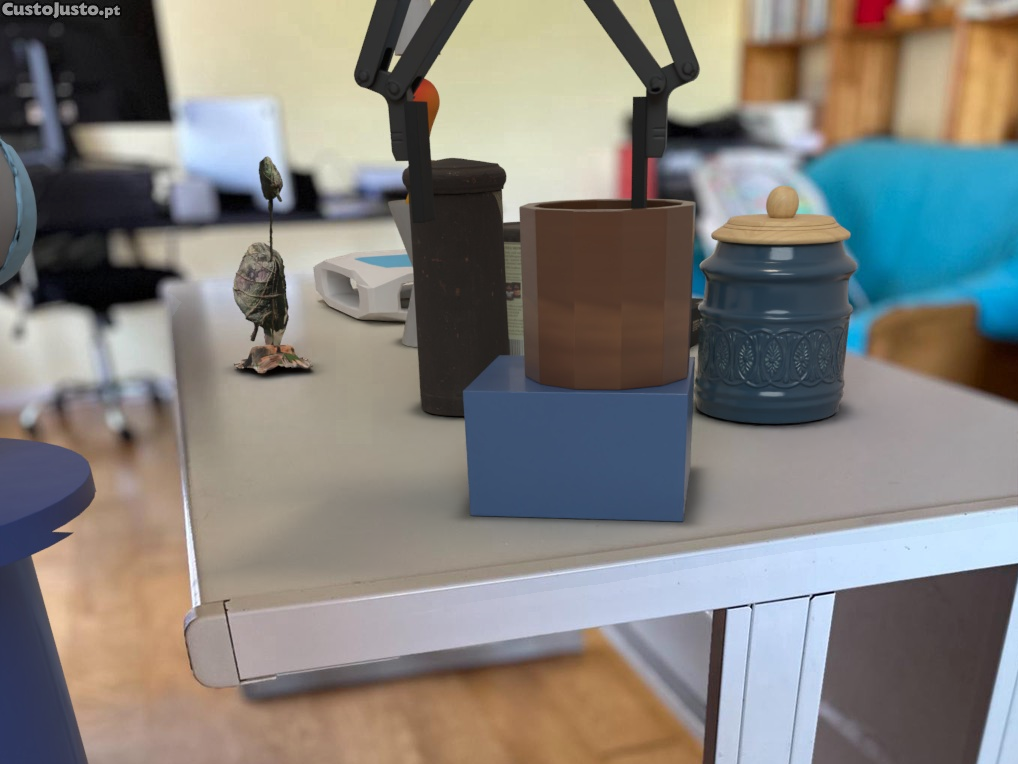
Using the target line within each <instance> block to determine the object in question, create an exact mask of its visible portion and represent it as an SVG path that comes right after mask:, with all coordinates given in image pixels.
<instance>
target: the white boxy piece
mask: <svg viewBox="0 0 1018 764" xmlns="http://www.w3.org/2000/svg"><path fill="white" fill-rule="evenodd" d="M312 270H313V278H314V284H315V286H314V287H315V290H316V292H317V294H319V296H320V297H321V298H322V299H323V300H324V302H325V303H326V304H327V305H328V306H329V307H331V308H333V309H335V310H337V311H340V312H341V313H344V314H346V315H348V316H351V317H353V318H354V319H358V320H362V321H380V322H381V321H382V322H384V321H385V322H386V321H387V322H404V323H406V318H407V313H408V308H409V307H402V305H401V300H402V299H410V297H411V292H412V287H413V282H414V277H413V267H412V264H411V262H410V259H409V257H408V254H407V252H406V249H405V248H403V249H391V250H390V249H388V250H373V251H358V252H352V253H347V254H343V255H339V256H335V257H331V258H327V259H324V260H323V261H320V262H319V263H317V264H315V265H314V266H313V267H312ZM351 280H353V281H354V282H355V283H356V287H357V288H356V287H355V288H354V287H353V285H352V282H351Z"/></svg>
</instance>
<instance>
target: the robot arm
mask: <svg viewBox="0 0 1018 764" xmlns="http://www.w3.org/2000/svg"><path fill="white" fill-rule="evenodd" d="M582 1H583V2H584V3H585V5H586V7H587V8H588V9H589V11H590V12H591V13H592V14H593V16H594V18H595V19H596V20H597V21H598V23H599V24H600V26H601V28H602V29H603V30H604V31H605V33H606V34H607V36H608V37H609V39H610V40H611V41H612V43H613V44H614V45H615V47H616V48H617V49H618V51H619V53H620V54H621V55H622V57H623V58H624V60H625V61H626V63H627V64H628V65H629V66H630V68H631V69H632V71H633V72H634V73H635V75H636V76H637V78H638V79H639V80H640V82H641V84H642V85H643V86H644V87H645V95H644V96H632V123H631V124H632V129H631V130H632V131H631V132H632V133H631V134H632V135H631V191H630V193H631V194H630V195H631V197H630V199H631V209H638V208H647V199H648V177H649V176H648V175H649V173H648V171H649V159H663V158H664V156H665V153H666V151H667V147H668V113H669V112H668V111H669V110H668V109H669V99H670V96H671V94H672V93H673V91H674V90H676V89H678V88H680V87H682V86H684V85H686V84H689V83H691V82H694V81H696V80H697V79H698V77H699V75H700V72H701V67H700V63H699V60H698V58H697V56H696V52H695V50H694V48H693V45H692V43H691V40H690V37H689V35H688V32H687V30H686V27H685V24H684V22H683V20H682V17H681V14H680V11H679V9H678V6H677V4H676V2H675V1H676V0H648V2H649V5H650V6H651V9H652V11H653V14H654V17H655V19H656V22H657V24H658V27H659V30H660V32H661V34H662V37H663V39H664V42H665V44H666V47H667V50H668V52H669V54H670V58H671V59H672V62H671V63H669V64H667V65H664V66H663V67H661V66H660V64H659V63H658V61H657V60H656V58H655V57H654V56H653V54H652V53H651V51H650V50H649V49H648V47H647V46H646V44H645V42H644V41H643V40H642V38H641V37H640V36H639V34H638V33H637V32H636V30H635V28H634V27H633V25H632V24H631V23H630V21H629V20H628V19H627V17H626V16H625V14H624V13H623V12H622V10H621V9H620V7H619V6H618V5H617V3H616V2H615V0H582ZM410 2H411V0H375V3H374V6H373V10H372V13H371V16H370V20H369V22H368V25H367V28H366V29H367V30H366V32H365V36H364V39H363V42H362V44H361V45H362V46H361V48H360V51H359V54H358V58H357V61H356V65H355V68H354V72H353V78H354V81H355V83H356V85H357V86H359V87H360V88H363V89H366V90H369V91H370V92H374V93H377V94H379V95H380V96H382V98H384V100H385V101H386V104H387V108H388V110H387V111H388V121H389V132H390V134H389V135H390V146H391V147H390V148H391V153H392V155H393V158H394V160H395V162H408V163H407V164H408V166H409V177H410V190H411V204H412V217H413V223H426V222H429V221H432V220H435V210H434V195H433V180H432V165H431V160H432V152H431V138H430V137H431V134H430V135H429V120H428V105H427V102H423V101H413V99H414V98H415V97H416V96H415V95H414V94H415V92H416V91H417V89H418V87H419V86H420V84H421V83H422V81H423V79H424V78H425V79H426V76H427V74H428V73H429V71H431V68H432V67H433V65H434V64H435V62H436V60H437V59H438V57H439V56H440V55H439V54H440V53H441V52H442V51H443V49H444V48H445V46H446V45H447V42H448V41H449V40H450V38H451V36H452V35H453V33H454V31H455V29H456V28H457V26H458V25H459V23H460V22H461V20H462V18H463V17H464V15H465V14H466V13H467V11H468V9H469V8H470V5H472V3H473V2H474V0H434V1H433V3H431V8H430V9H429V11H428V13H427V14H426V16H425V18H424V19H423V21H422V23H421V24H420V26H419V27H418V29H417V31H416V32H415V34H414V36H413V37H412V39H411V41H410V42H409V44H408V46H407V47H406V49H405V50H404V52H403V54H402V55H401V56H399V58H398V60H397V62H396V63H395V66H394V67H393V68H392V70H391V71H389V69H390V67H391V63H392V60H393V57H394V55H395V48H396V45H397V42H398V39H399V36H400V33H401V30H402V27H403V24H404V21H405V17H406V14H407V11H408V8H409V5H410ZM16 151H17V150H15V148H14V147H13V146H12V145H11V144H8V143H6V142H5V141H4V140H3V139H2V136H1V135H0V286H1V285H3V284H4V283H7V282H8V281H9V280H10V279H12V278H13V277H14V276H15V275H17V274H18V272H19V271H20V270H21V269H22V267H23V265H24V263H25V261H26V259H27V258H28V256H29V255H30V253H31V251H32V249H33V246H34V242H35V238H36V232H37V224H38V223H37V222H38V214H37V212H38V211H37V203H36V195H35V192H34V187H33V185H32V181H31V179H30V176H29V173H28V171H27V169H26V166H25V165H24V163H23V161H22V159H21V157H20V156H19V154H18V153H17V152H16Z"/></svg>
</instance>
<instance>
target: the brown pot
mask: <svg viewBox="0 0 1018 764" xmlns="http://www.w3.org/2000/svg"><path fill="white" fill-rule="evenodd" d="M696 207H697V203H696V202H695V201H691V200H683V199H672V198H671V199H668V198H667V199H666V198H647V208H638V209H631V198H588V199H587V198H585V199H583V198H582V199H564V200H563V199H562V200H550V201H539V202H529V203H526V204H524V205H520V206H519V211H518V213H519V222H520V242H521V273H522V303H523V333H524V364H525V376H526V377H528V378H530V379H532V380H533V381H535V382H537V383H539V384H541V385H547V386H554V387H560V388H567V389H574V390H628V389H638V388H648V387H657V386H664V385H667V384H670V383H673V382H676V381H680V380H683V379H686V378H687V375H688V371H689V360H690V357H691V356H690V355H691V353H690V352H691V347H690V335H691V310H692V298H693V281H694V258H695V257H694V256H695V233H696Z"/></svg>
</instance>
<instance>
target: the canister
mask: <svg viewBox="0 0 1018 764" xmlns="http://www.w3.org/2000/svg"><path fill="white" fill-rule="evenodd" d="M799 206H800V198H799V194H798V192H797V190H796V189H795V188H794V187H792V186H789V185H778V186H775V187H774V188H773V189H772V190H771V191H770V192H769V193H768V195H767V198H766V202H765V210H766V213H756V214H755V213H754V214H743V215H735V216H731V217H729V218H728V220H727V221H726V222H725V223H723V225H721V226H720V227H718V228H717V229H715V230H714V231H712V232H711V235H710V237H711V239H712V240H714V241H716V243H715V247H714V250H713V252H712V253H711V255H709V256H708V257H706V258H705V259H704V260H702V261H701V262H700V264H699V270H700V271H701V272H702V274H703V275H704V277H705V286H704V293H703V298H702V299H703V302H702V303H700V304H699V306H698V311H699V314H700V320H699V343H697V349H698V350H697V367H696V375H695V377H694V395H695V400H696V409H698V410H699V411H700V412H701V413H702V414H705V415H708V416H710V417H713V418H716V419H721V420H724V421H725V420H726V421H731V422H737V423H738V422H739V423H747V424H748V423H749V424H763V425H764V424H765V425H766V424H767V425H777V424H778V425H780V424H781V425H783V424H798V423H807V422H814V421H819V420H823V419H826V418H829V417H831V416H834V415H835V414H836V413H837V412H839V409H840V404H841V401H842V399H843V397H844V394H845V393H844V387H845V385H846V381H845V379H844V375H845V367H846V357H847V356H846V355H847V346H848V339H849V330H850V329H849V328H850V320H851V315H852V313H853V312H854V308H853V305H852V304H851V303H850V302H849V292H850V291H849V289H850V279H851V277H852V276H853V274H855V272H856V271H857V269H858V268H859V267H858V266H859V265H858V263H857V262H856V261H855V260H854V259H853V258H852V257H850V256H849V255H848V254H847V252H846V249H845V245H844V241H847V240H848V239H850V238H851V232H850V231H849V230H848V229H846V228H845V227H844V226H841V224H840V223H838V222H837V221H836V219H835V217H834V216H832V215H825V214H814V213H812V214H811V213H797V212H798V210H799Z"/></svg>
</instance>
